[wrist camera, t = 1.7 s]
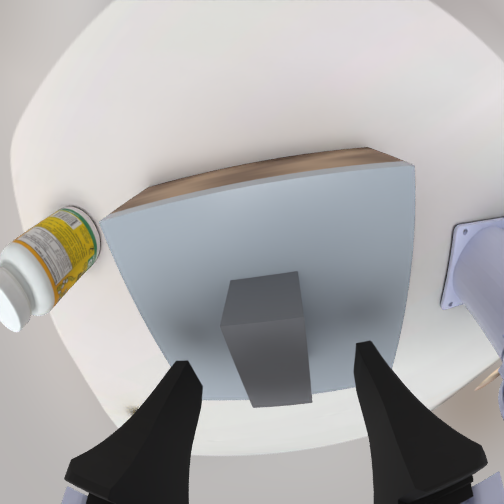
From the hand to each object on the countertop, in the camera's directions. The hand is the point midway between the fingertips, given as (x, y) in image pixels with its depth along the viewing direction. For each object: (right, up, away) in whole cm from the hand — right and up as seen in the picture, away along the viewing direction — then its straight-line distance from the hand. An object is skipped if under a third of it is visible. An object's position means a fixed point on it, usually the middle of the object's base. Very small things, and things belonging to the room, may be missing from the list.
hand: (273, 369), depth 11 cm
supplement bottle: (-15, +6, +8) cm, 18 cm away
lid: (0, +2, +5) cm, 5 cm away
